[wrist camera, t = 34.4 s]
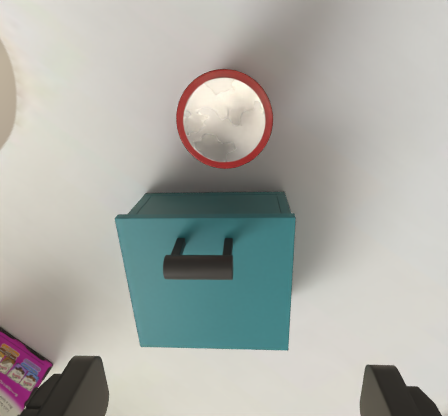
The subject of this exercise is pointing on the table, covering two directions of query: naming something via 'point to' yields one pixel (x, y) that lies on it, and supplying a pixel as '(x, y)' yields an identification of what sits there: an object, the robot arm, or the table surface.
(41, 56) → the table surface
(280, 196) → the cool box
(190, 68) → the table surface
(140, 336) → the cool box lid
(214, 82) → the can
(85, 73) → the table surface
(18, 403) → the candy bar box
